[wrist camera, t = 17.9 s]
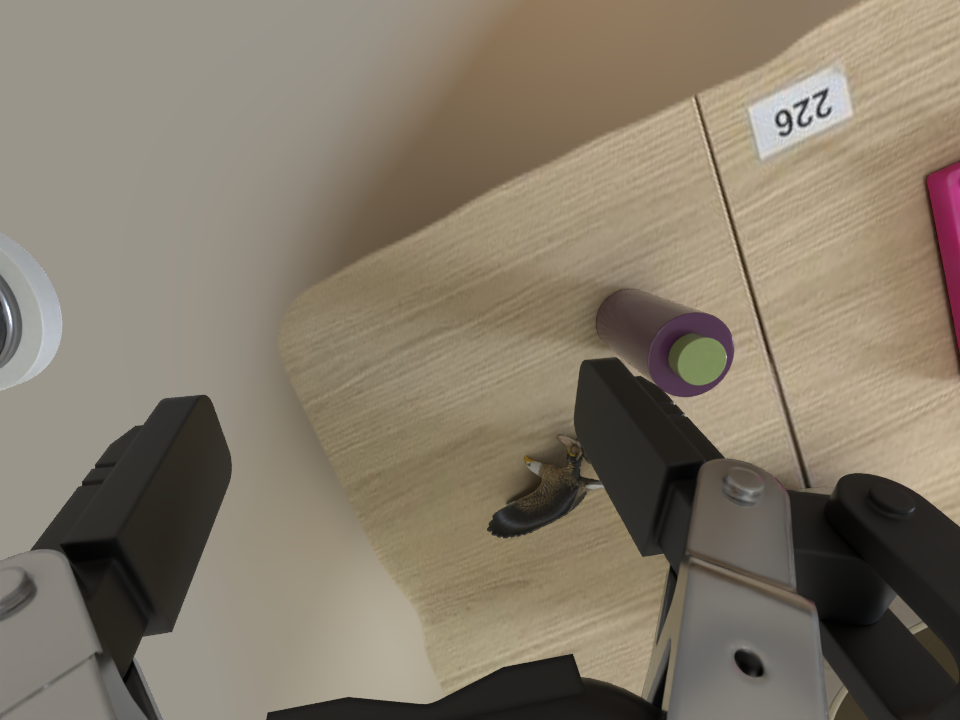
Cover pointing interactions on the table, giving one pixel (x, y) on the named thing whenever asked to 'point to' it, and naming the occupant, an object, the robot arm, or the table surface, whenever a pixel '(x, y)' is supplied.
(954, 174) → the file sorter
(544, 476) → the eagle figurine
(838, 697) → the planter
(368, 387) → the table surface
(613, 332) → the purple bottle
